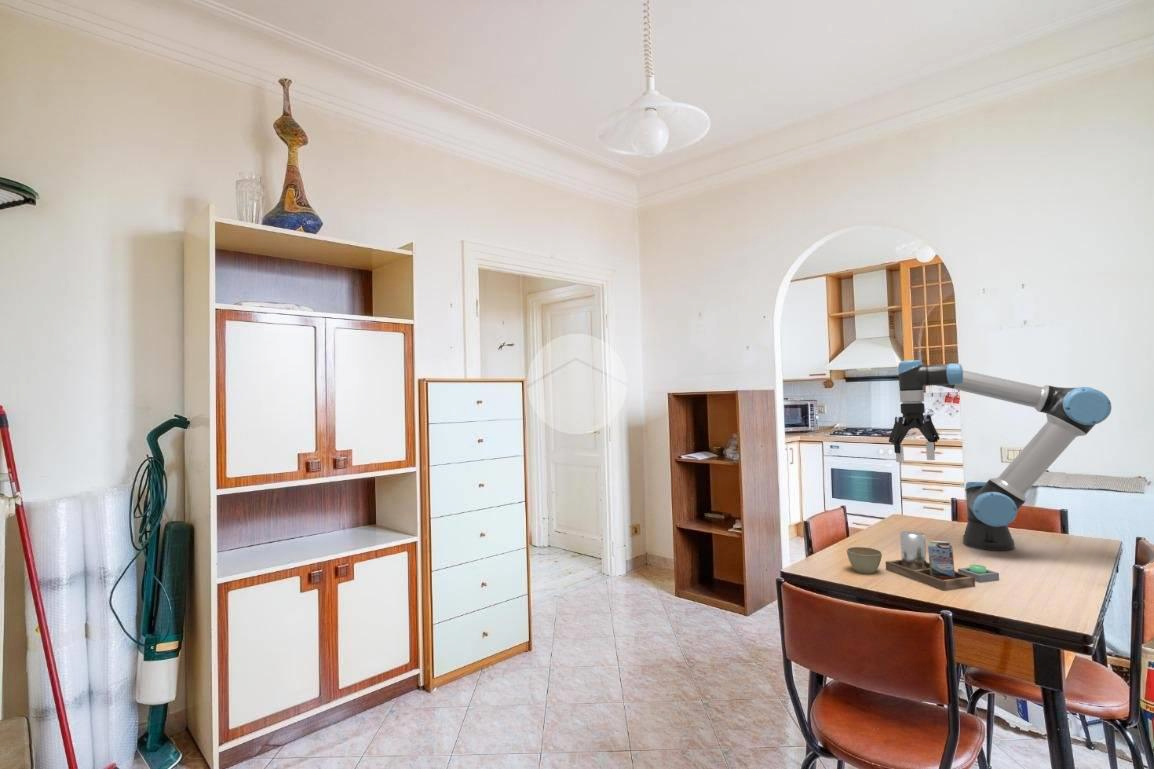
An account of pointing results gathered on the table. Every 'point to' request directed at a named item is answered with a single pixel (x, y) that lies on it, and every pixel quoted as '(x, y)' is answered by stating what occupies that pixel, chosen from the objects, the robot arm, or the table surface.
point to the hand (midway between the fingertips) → (915, 461)
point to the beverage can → (941, 560)
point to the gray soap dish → (981, 575)
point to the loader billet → (913, 550)
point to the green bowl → (864, 559)
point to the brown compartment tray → (926, 578)
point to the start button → (978, 569)
